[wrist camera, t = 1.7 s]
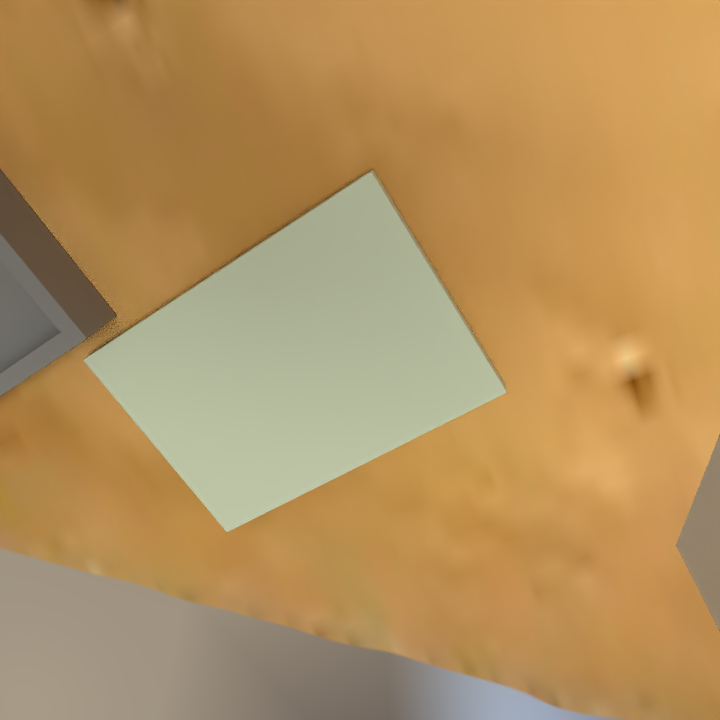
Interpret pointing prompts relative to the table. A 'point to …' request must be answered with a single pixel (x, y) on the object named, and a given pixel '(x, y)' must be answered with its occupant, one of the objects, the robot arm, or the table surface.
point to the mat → (300, 358)
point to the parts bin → (39, 294)
